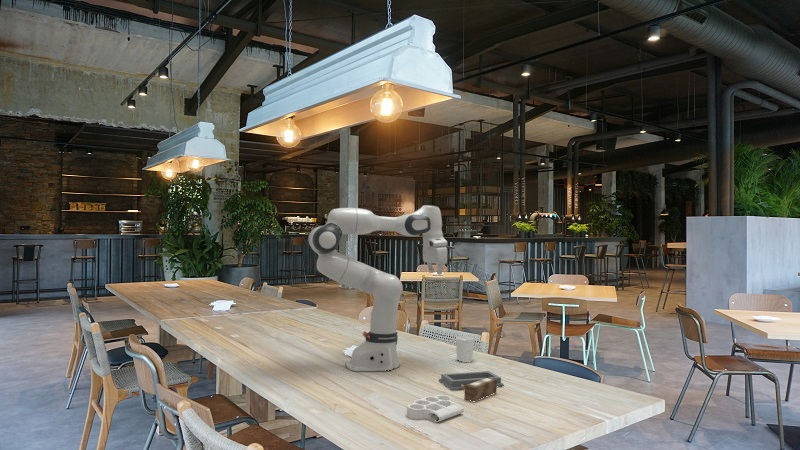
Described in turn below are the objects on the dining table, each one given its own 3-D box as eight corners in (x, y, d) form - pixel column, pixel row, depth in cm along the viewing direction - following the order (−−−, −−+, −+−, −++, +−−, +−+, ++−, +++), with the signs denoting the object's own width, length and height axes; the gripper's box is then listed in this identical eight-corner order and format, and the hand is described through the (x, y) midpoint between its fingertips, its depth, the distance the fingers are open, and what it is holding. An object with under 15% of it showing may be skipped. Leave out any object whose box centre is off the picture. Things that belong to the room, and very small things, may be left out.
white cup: (473, 359, 229) (473, 336, 229) (473, 363, 221) (474, 340, 221) (455, 358, 230) (456, 336, 230) (455, 362, 222) (456, 339, 222)
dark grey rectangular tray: (451, 390, 181) (451, 382, 181) (438, 381, 192) (438, 373, 192) (503, 386, 187) (503, 378, 187) (488, 377, 199) (488, 370, 199)
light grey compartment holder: (432, 427, 147) (396, 414, 157) (469, 413, 159) (434, 401, 170) (432, 416, 147) (396, 403, 157) (470, 402, 160) (435, 391, 170)
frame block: (474, 402, 169) (474, 387, 169) (464, 400, 172) (464, 384, 172) (496, 393, 179) (496, 379, 180) (486, 391, 182) (487, 376, 182)
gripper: (418, 242, 230) (420, 272, 230) (435, 243, 211) (437, 276, 211) (431, 240, 232) (433, 270, 232) (449, 241, 213) (451, 274, 213)
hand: (435, 273), depth 221 cm, fingers open, 8 cm apart
